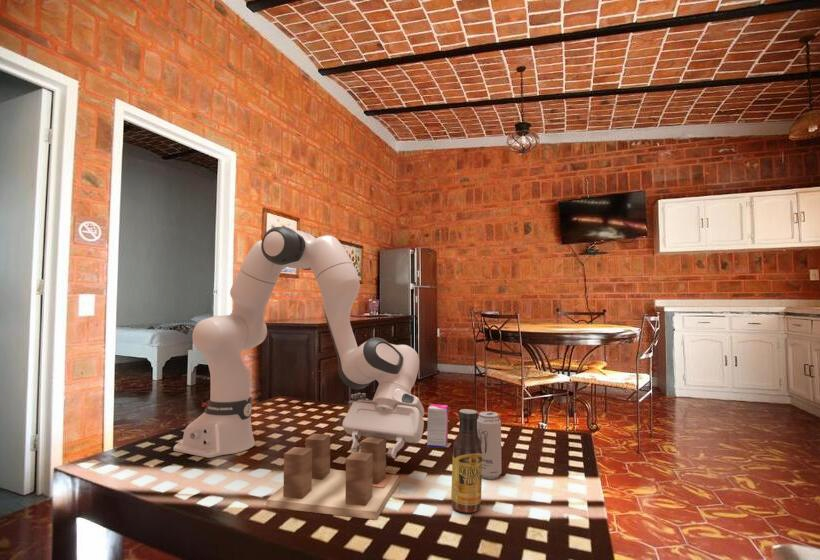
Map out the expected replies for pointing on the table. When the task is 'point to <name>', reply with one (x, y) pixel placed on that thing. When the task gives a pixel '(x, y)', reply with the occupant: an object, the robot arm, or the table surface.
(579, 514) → the table surface
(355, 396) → the lighter
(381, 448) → the walnut peg
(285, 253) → the robot arm
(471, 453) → the sauce bottle
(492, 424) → the energy drink can
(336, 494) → the board
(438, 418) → the supplement box
